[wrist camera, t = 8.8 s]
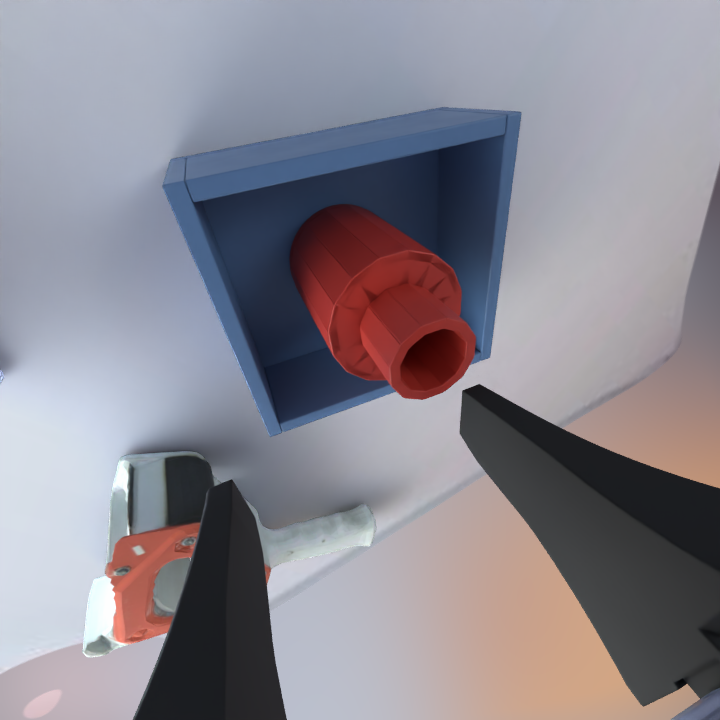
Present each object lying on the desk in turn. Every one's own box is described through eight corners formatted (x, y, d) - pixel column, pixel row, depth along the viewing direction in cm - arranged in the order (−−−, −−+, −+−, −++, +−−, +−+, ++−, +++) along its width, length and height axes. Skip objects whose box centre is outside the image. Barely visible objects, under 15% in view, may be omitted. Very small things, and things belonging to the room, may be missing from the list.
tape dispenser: (370, 496, 35) (250, 371, 20) (397, 549, 31) (274, 439, 17) (210, 605, 34) (-30, 551, 20) (219, 673, 30) (-73, 667, 16)
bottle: (302, 318, 19) (365, 445, 12) (276, 218, 16) (341, 314, 9) (392, 291, 20) (496, 394, 13) (385, 192, 17) (517, 261, 10)
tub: (255, 372, 20) (269, 437, 17) (169, 159, 14) (161, 184, 10) (439, 313, 23) (490, 358, 19) (443, 106, 16) (522, 111, 12)
